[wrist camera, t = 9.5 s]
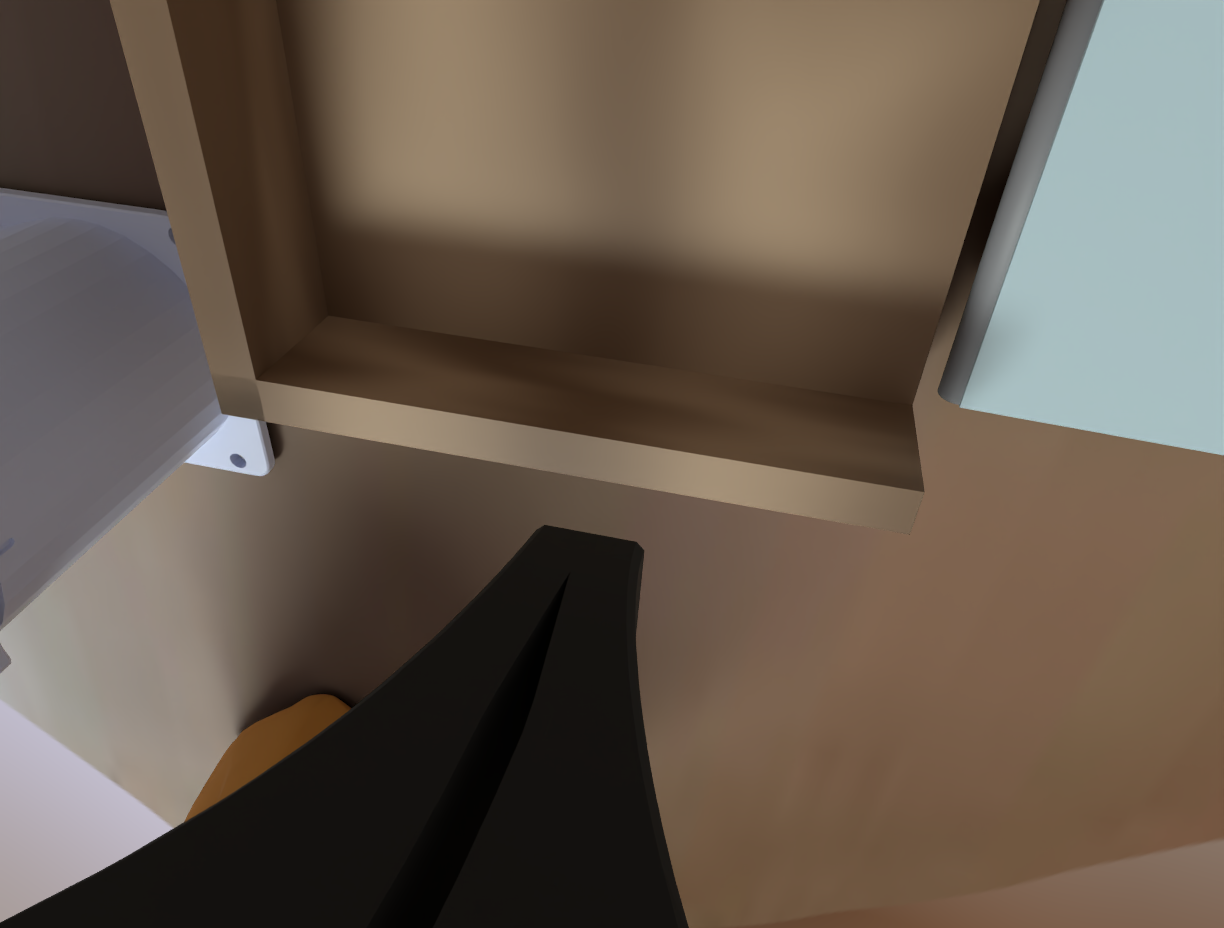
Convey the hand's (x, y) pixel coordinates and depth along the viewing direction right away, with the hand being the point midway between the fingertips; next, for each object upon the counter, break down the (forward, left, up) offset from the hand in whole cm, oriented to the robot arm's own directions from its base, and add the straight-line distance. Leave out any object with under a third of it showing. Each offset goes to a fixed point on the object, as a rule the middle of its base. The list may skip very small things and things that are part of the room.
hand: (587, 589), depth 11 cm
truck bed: (-2, +4, -10) cm, 11 cm away
